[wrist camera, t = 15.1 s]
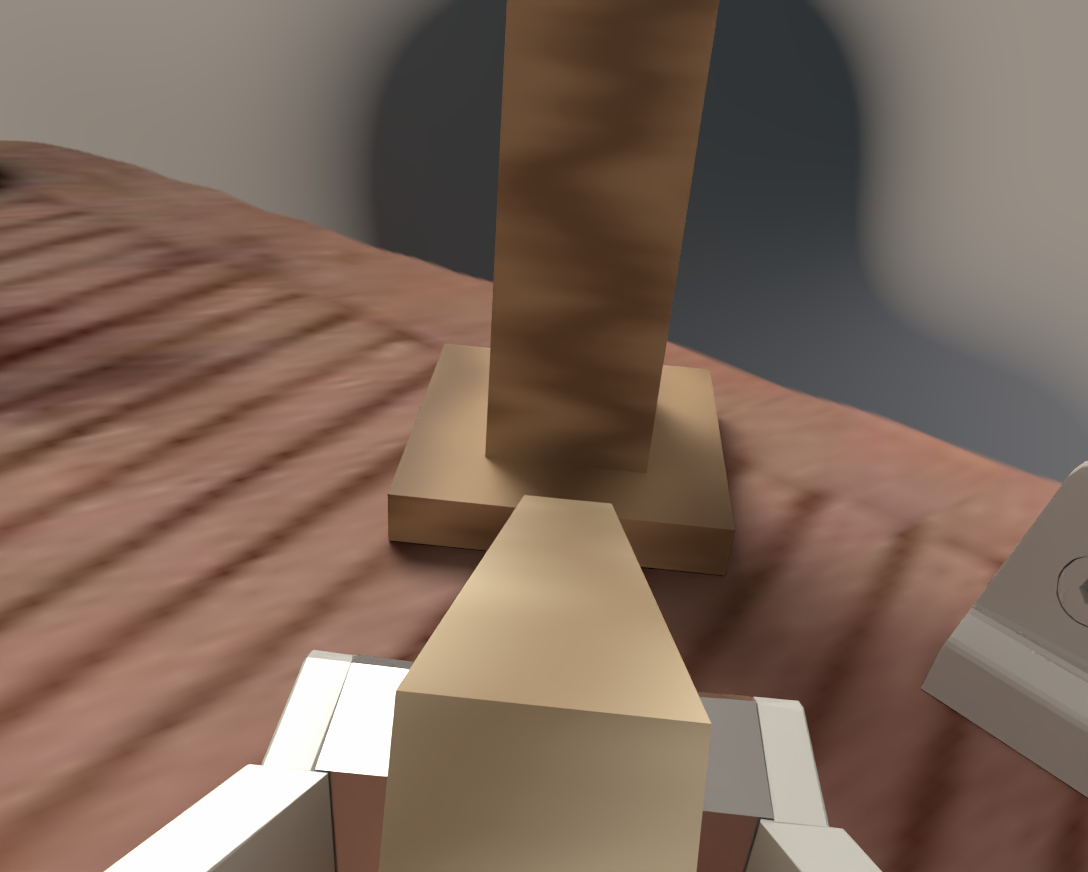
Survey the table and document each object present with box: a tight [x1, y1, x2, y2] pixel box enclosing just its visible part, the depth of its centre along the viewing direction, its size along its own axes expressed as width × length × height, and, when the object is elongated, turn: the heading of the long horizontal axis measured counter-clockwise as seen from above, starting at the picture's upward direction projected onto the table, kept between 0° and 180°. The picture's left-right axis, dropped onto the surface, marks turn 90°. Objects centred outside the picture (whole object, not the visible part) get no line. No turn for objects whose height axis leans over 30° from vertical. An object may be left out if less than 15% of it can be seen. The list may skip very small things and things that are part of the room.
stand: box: [388, 0, 735, 575], centre depth 32 cm, size 12×12×26 cm
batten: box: [378, 495, 711, 872], centre depth 17 cm, size 2×19×3 cm
